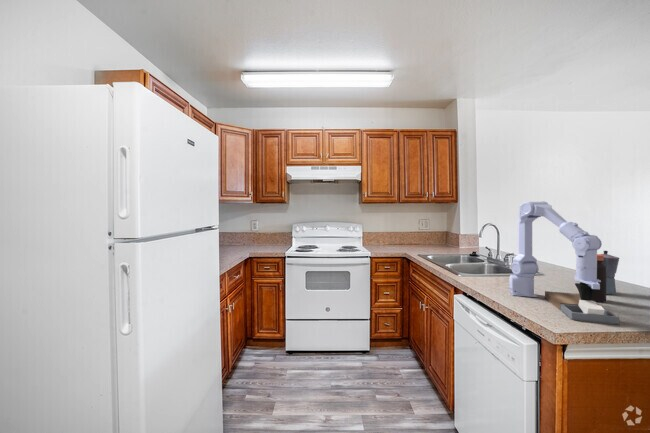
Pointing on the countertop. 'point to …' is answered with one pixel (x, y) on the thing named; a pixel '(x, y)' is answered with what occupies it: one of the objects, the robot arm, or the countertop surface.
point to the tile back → (585, 303)
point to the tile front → (593, 309)
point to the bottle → (601, 275)
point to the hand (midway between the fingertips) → (585, 303)
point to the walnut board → (563, 298)
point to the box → (589, 315)
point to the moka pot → (610, 272)
